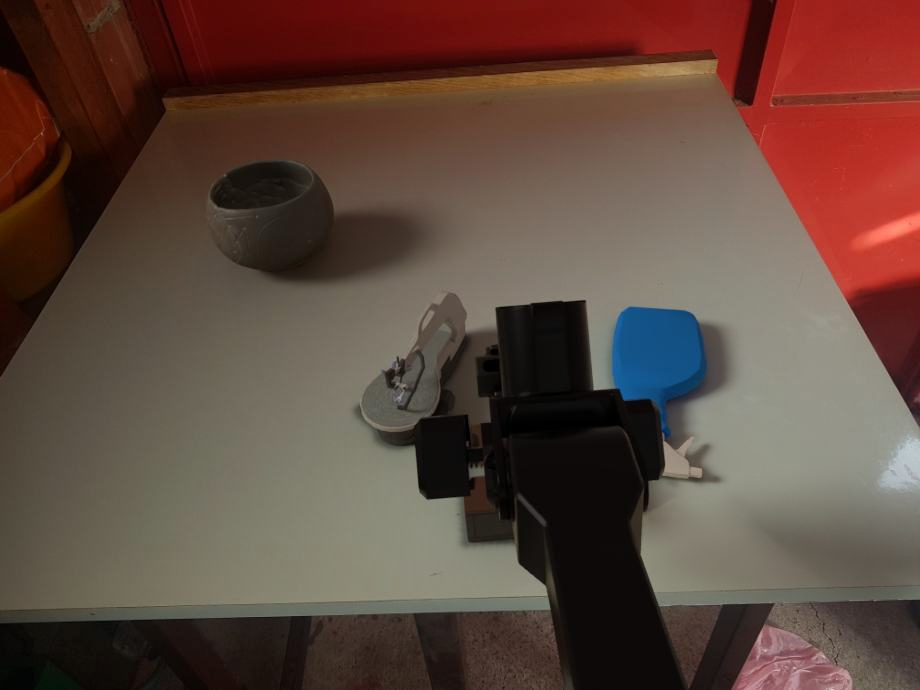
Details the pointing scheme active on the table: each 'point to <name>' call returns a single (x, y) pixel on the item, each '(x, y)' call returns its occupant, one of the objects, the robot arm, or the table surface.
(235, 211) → the bowl
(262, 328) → the table surface
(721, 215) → the table surface
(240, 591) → the table surface
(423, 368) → the scroll saw
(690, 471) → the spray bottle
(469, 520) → the dark grey flat tray
